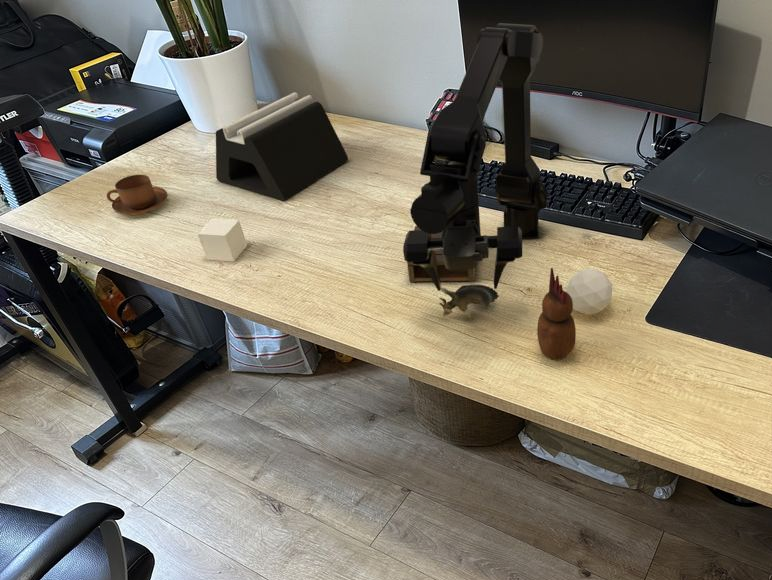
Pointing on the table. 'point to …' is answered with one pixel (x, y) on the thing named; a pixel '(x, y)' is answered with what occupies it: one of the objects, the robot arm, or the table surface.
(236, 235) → the cream white cube
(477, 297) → the brown grey dinosaur figurine
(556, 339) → the wooden figurine
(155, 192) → the cup and saucer
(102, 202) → the table surface
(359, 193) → the table surface
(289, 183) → the device stand
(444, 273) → the box
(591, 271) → the geometric ball
